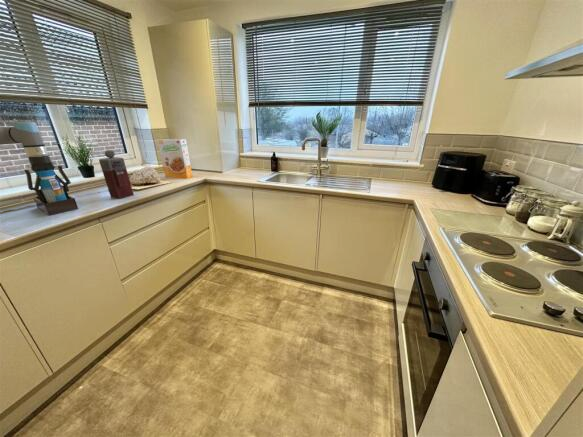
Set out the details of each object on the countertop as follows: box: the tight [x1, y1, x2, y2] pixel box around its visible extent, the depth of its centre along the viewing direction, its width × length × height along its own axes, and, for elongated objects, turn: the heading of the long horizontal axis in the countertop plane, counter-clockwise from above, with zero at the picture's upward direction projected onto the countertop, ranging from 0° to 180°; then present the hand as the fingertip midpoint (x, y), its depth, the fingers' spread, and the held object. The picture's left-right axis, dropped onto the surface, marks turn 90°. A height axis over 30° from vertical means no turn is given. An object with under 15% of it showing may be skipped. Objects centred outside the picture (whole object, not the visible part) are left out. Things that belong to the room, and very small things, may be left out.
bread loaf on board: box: [129, 166, 172, 190], centre depth 175 cm, size 28×22×16 cm
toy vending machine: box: [98, 149, 135, 200], centre depth 144 cm, size 9×11×28 cm
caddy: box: [32, 195, 79, 216], centre depth 129 cm, size 23×12×10 cm, turn 55°
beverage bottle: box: [34, 169, 67, 203], centre depth 123 cm, size 8×8×20 cm
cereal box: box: [157, 138, 193, 180], centre depth 194 cm, size 22×6×30 cm, turn 72°
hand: (56, 199), depth 125 cm, fingers closed on beverage bottle, 8 cm apart
